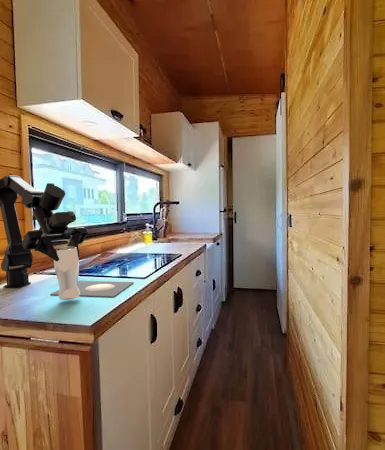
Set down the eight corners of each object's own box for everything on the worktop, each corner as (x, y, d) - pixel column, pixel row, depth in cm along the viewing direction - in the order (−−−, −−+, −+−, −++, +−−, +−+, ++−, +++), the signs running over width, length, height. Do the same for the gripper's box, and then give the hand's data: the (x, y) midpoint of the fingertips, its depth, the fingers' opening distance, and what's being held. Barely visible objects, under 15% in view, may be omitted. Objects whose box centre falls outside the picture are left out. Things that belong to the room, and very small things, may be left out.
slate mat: (50, 295, 99) (50, 293, 99) (79, 281, 117) (79, 280, 117) (114, 297, 96) (113, 295, 96) (133, 283, 114) (133, 281, 113)
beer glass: (55, 302, 88) (50, 251, 86) (58, 294, 94) (54, 247, 93) (81, 298, 90) (76, 248, 88) (82, 291, 96) (78, 245, 95)
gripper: (25, 202, 85) (46, 244, 79) (84, 202, 100) (106, 238, 94) (13, 229, 90) (33, 270, 84) (71, 225, 105) (91, 260, 99)
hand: (68, 259), depth 90 cm, fingers closed on beer glass, 6 cm apart
